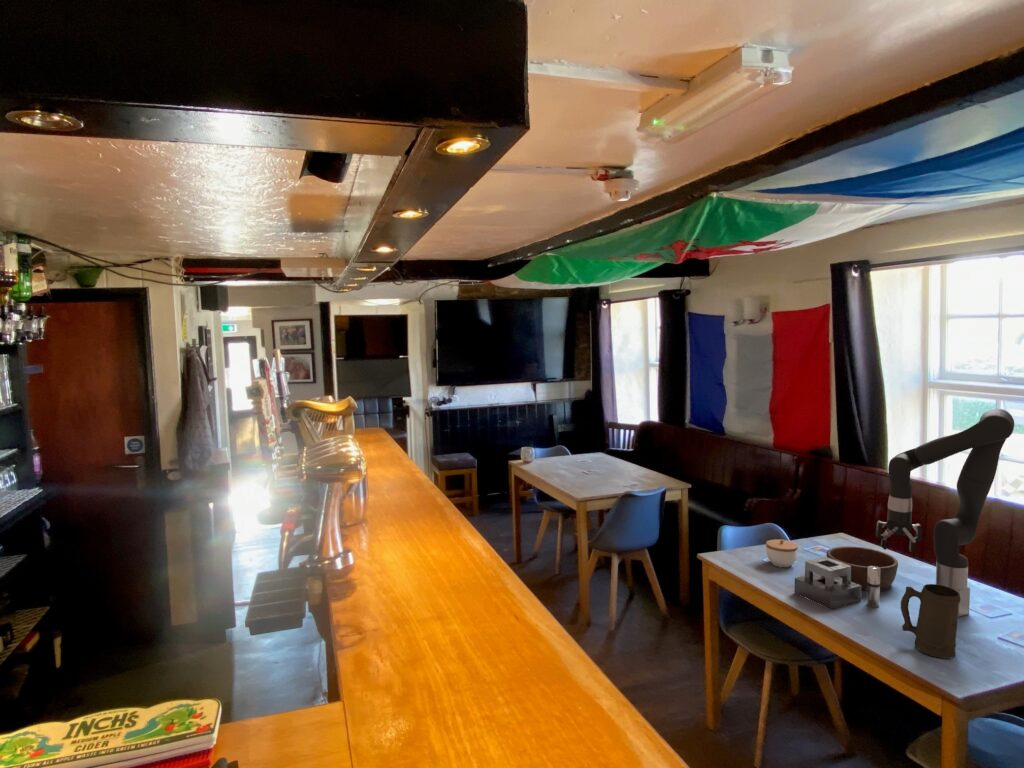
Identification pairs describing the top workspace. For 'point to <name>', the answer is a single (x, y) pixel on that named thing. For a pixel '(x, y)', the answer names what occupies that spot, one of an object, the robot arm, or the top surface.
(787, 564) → the lidded bowl
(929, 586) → the beer stein
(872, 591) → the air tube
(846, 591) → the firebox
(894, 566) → the wooden bowl
